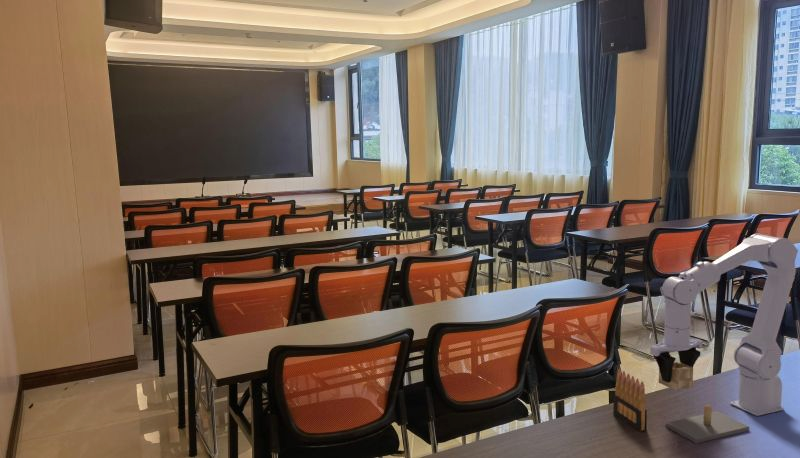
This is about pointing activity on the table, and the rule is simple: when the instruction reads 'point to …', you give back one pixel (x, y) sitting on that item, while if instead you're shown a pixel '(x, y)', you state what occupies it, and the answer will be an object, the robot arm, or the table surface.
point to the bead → (679, 376)
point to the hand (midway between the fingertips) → (675, 379)
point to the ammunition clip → (630, 401)
